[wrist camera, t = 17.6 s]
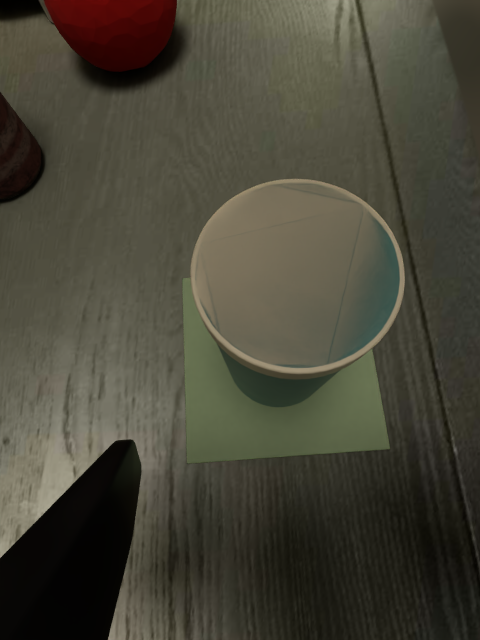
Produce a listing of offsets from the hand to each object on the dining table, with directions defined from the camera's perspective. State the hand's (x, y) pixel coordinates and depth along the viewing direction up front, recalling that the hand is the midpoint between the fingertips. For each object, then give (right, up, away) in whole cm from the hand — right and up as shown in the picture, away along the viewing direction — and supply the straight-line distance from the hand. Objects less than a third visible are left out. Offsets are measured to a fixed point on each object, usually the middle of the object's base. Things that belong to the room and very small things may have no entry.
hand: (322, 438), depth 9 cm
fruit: (-11, +25, +22) cm, 35 cm away
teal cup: (0, +1, +13) cm, 13 cm away
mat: (0, +1, +13) cm, 13 cm away
